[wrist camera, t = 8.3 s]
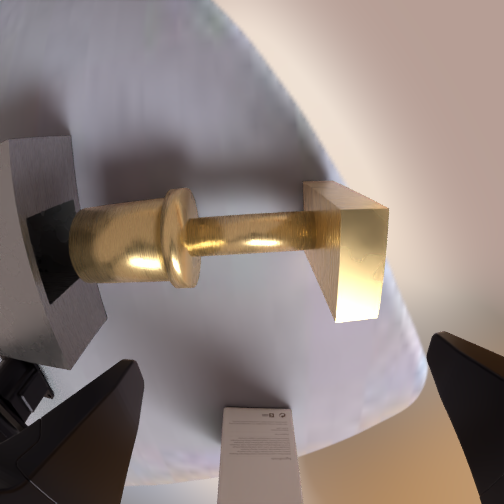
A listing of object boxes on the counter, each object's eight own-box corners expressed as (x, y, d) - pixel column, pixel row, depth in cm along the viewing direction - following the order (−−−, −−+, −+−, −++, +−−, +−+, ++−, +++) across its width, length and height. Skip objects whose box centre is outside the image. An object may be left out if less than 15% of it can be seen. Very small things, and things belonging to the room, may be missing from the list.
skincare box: (223, 403, 24) (208, 566, 9) (297, 406, 24) (316, 564, 9) (224, 449, 27) (214, 574, 12) (284, 451, 27) (293, 574, 12)
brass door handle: (117, 267, 19) (56, 332, 11) (103, 193, 17) (23, 227, 10) (331, 255, 19) (376, 325, 11) (332, 173, 17) (389, 197, 9)
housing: (38, 315, 21) (-1, 354, 15) (2, 160, 16) (-55, 173, 10) (107, 318, 21) (70, 370, 15) (71, 135, 16) (8, 139, 10)
